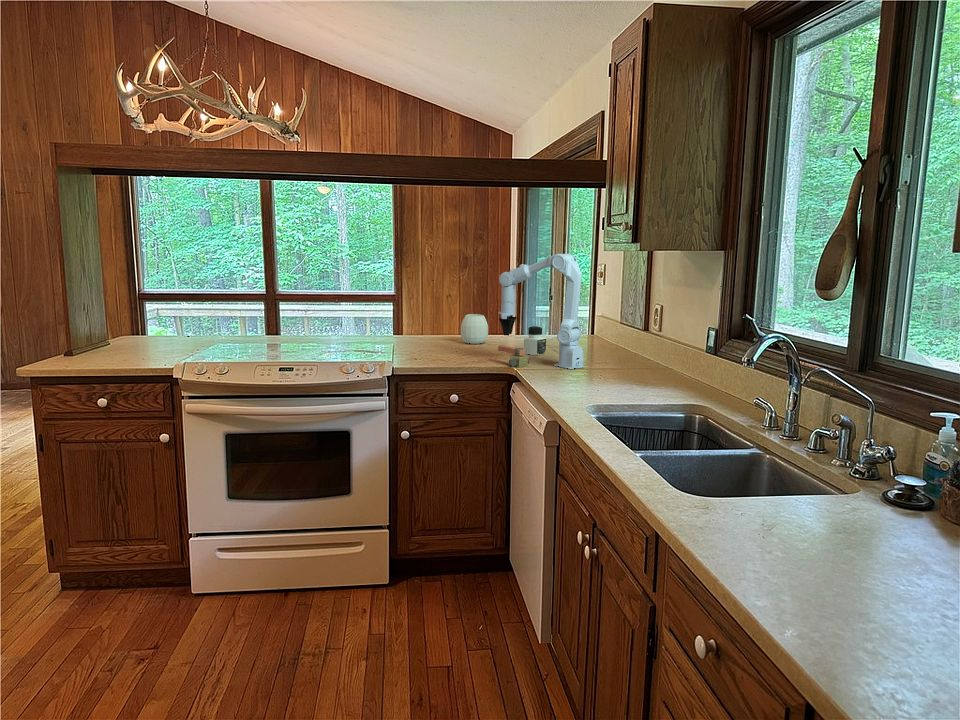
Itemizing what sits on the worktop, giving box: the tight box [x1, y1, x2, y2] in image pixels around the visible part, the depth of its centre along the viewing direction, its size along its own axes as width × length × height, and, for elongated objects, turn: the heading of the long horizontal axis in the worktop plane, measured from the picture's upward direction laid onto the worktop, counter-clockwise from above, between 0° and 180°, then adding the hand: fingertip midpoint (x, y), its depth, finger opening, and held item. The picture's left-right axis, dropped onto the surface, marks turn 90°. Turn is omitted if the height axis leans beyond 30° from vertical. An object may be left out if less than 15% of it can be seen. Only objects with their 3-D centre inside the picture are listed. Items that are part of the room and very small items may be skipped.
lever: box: [497, 345, 526, 356], centre depth 271 cm, size 14×3×2 cm, turn 35°
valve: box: [507, 354, 530, 369], centre depth 268 cm, size 6×8×4 cm
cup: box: [460, 313, 489, 345], centre depth 324 cm, size 13×13×14 cm
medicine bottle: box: [523, 325, 547, 356], centre depth 296 cm, size 7×7×12 cm
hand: (507, 334), depth 281 cm, fingers open, 4 cm apart
